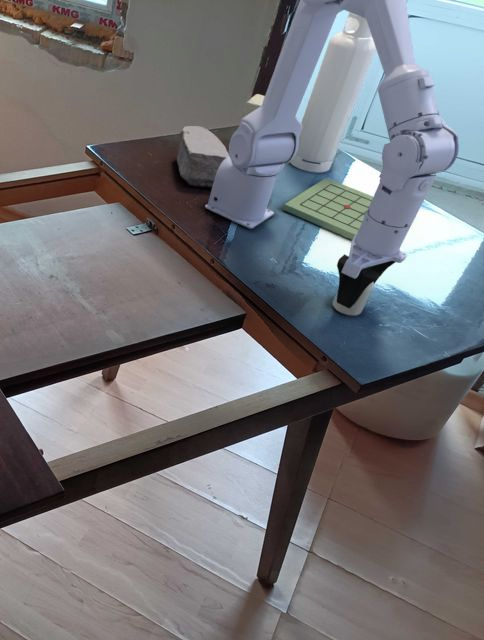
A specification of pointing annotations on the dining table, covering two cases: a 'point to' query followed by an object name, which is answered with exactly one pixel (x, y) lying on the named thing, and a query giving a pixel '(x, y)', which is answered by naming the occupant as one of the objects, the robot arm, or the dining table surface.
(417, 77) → the robot arm
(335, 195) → the game board
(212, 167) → the decorative stone
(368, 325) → the dining table surface
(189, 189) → the dining table surface
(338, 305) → the cream rounded cylinder
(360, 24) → the bottle
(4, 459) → the dining table surface
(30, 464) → the dining table surface
